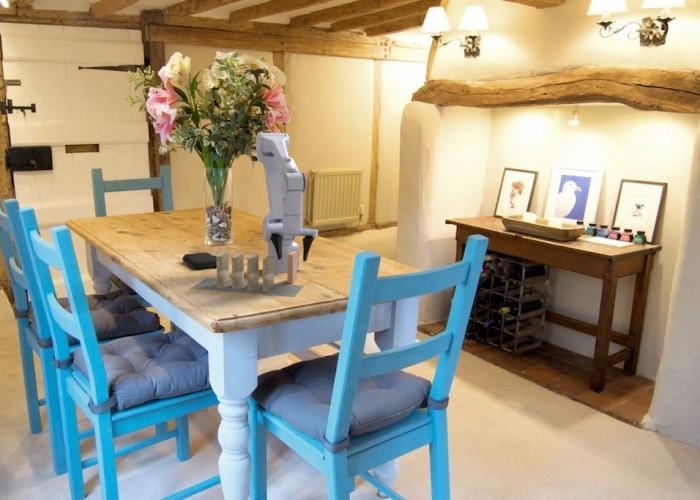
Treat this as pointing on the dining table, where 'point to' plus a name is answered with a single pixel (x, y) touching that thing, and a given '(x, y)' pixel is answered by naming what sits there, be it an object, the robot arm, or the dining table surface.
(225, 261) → the beige wooden block
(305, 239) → the robot arm
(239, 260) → the ivory domino
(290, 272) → the terracotta domino
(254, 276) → the wooden block
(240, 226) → the dining table surface
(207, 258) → the carrying case or bag
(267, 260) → the wooden block
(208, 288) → the slate runway mat
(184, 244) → the dining table surface
